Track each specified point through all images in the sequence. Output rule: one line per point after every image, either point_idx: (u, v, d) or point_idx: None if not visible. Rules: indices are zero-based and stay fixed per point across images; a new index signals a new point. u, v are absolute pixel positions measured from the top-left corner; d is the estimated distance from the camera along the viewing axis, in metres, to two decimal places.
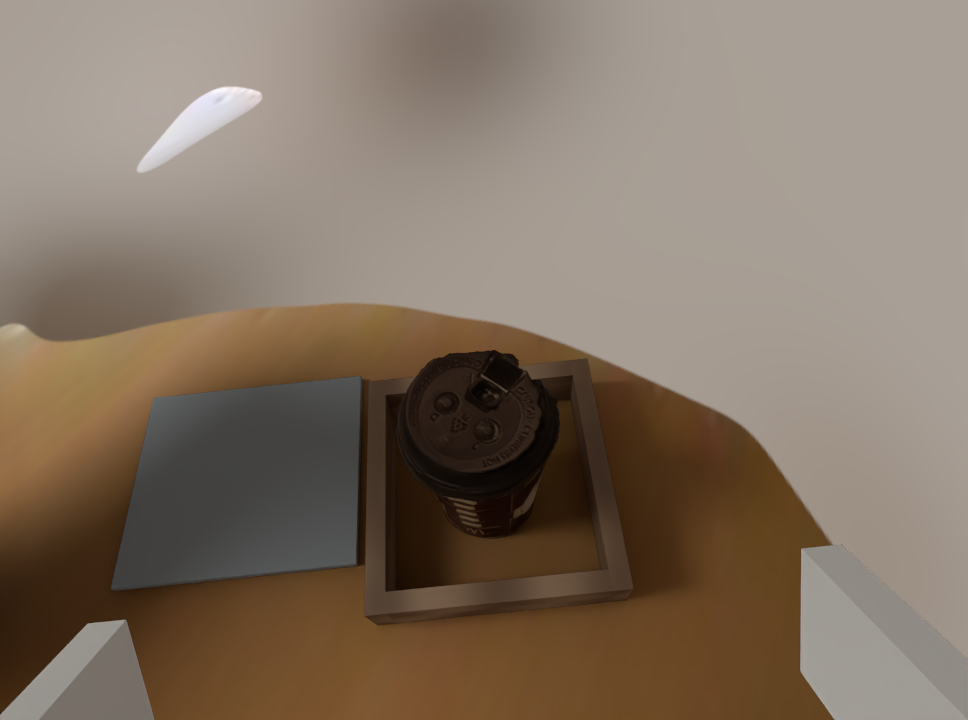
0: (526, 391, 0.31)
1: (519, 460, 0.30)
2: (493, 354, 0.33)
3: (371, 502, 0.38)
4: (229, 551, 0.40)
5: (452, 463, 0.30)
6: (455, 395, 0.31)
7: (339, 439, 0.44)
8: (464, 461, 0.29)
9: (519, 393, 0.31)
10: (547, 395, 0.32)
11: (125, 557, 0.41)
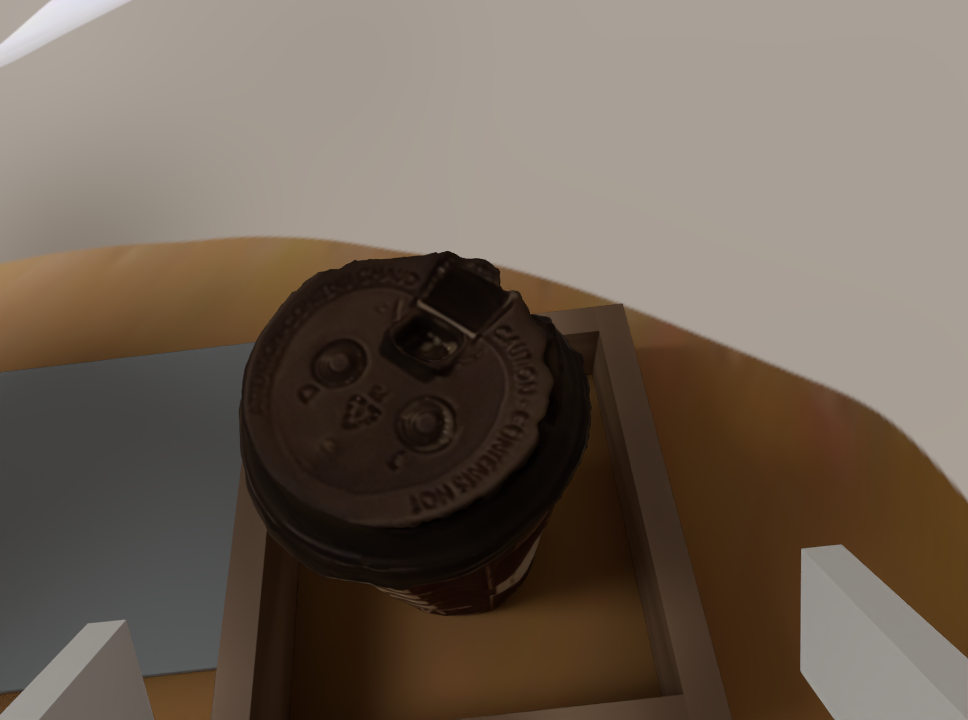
0: (517, 335, 0.14)
1: (501, 493, 0.13)
2: (447, 260, 0.15)
3: (239, 559, 0.21)
4: (0, 643, 0.23)
5: (337, 503, 0.12)
6: (360, 346, 0.14)
7: (212, 444, 0.27)
8: (367, 497, 0.12)
9: (502, 339, 0.14)
10: (563, 346, 0.15)
11: None
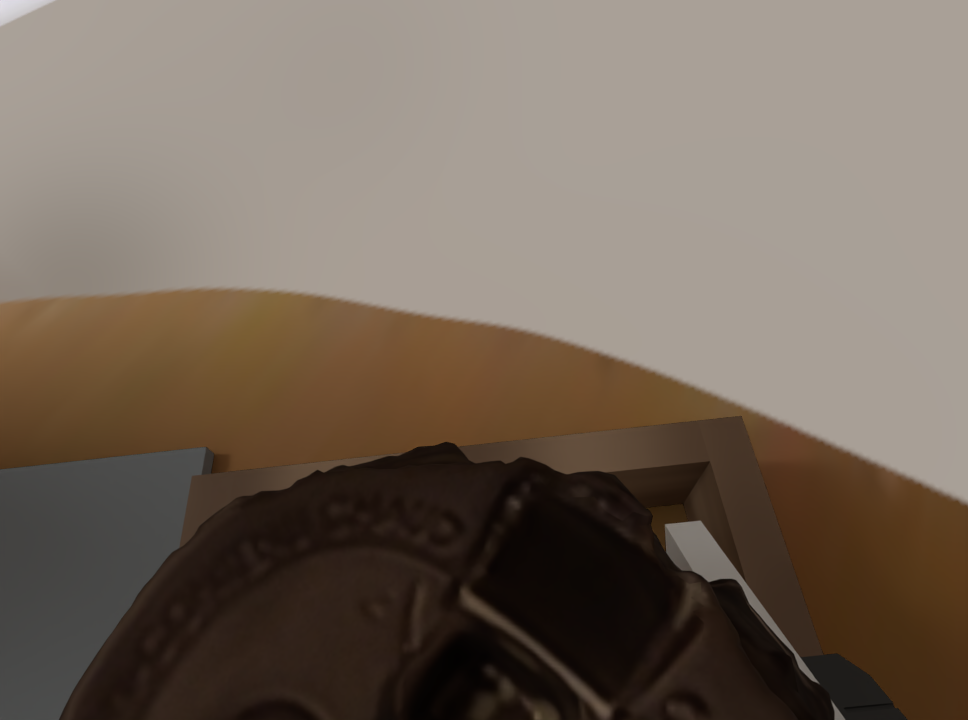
0: None
1: None
2: (524, 476, 0.07)
3: None
4: None
5: None
6: None
7: None
8: None
9: None
10: (800, 692, 0.06)
11: None
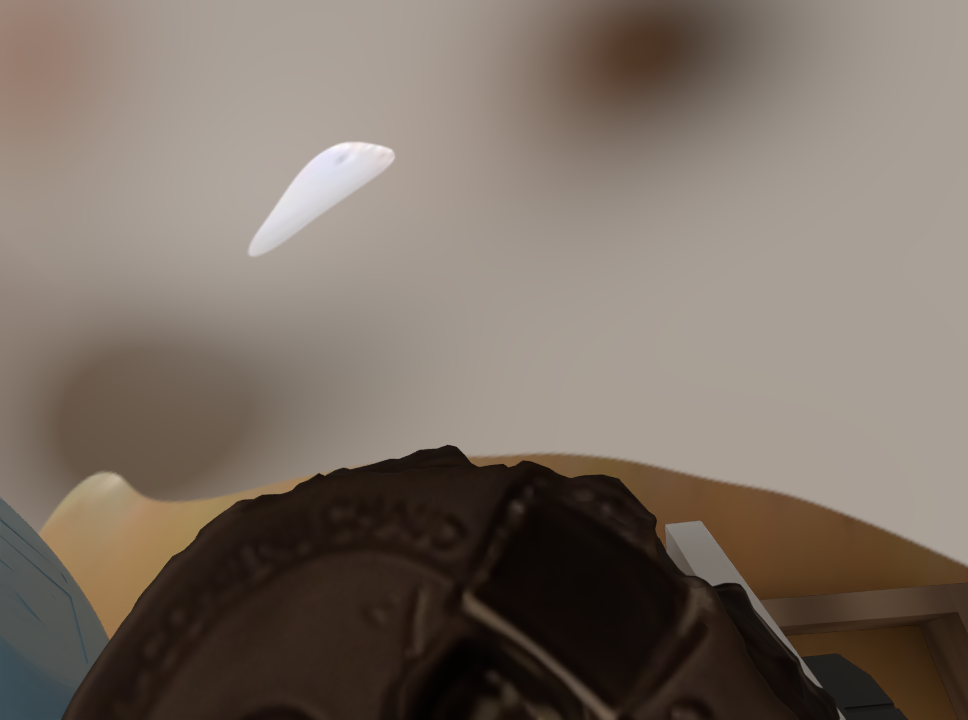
0: None
1: None
2: (528, 479, 0.07)
3: None
4: None
5: None
6: None
7: None
8: None
9: None
10: (805, 699, 0.06)
11: None
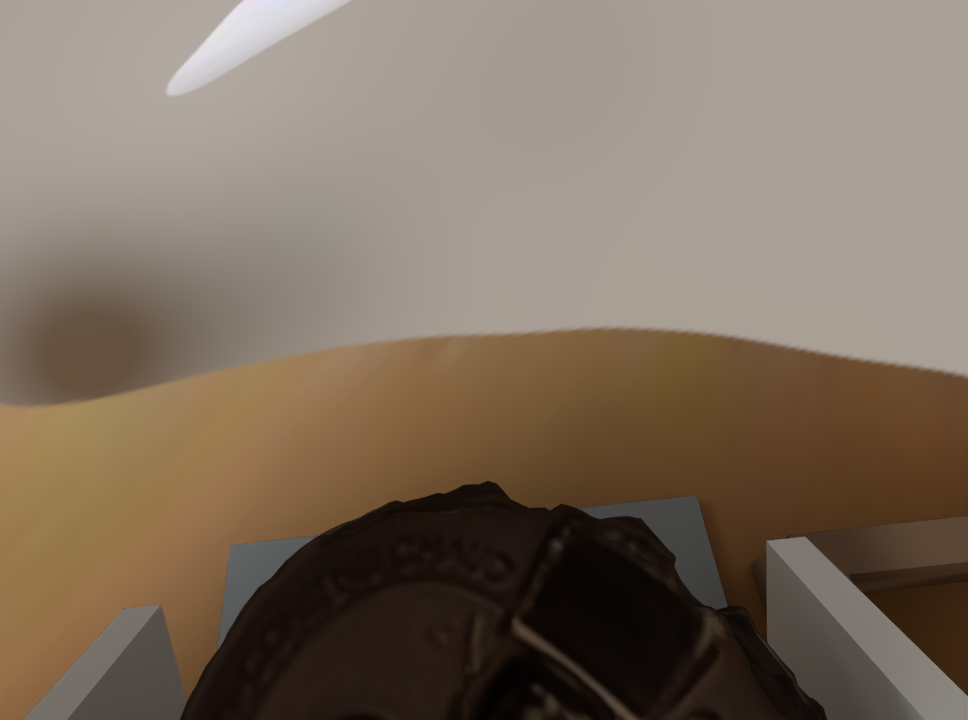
0: None
1: None
2: (565, 520, 0.08)
3: None
4: None
5: None
6: None
7: None
8: None
9: None
10: (799, 708, 0.07)
11: None
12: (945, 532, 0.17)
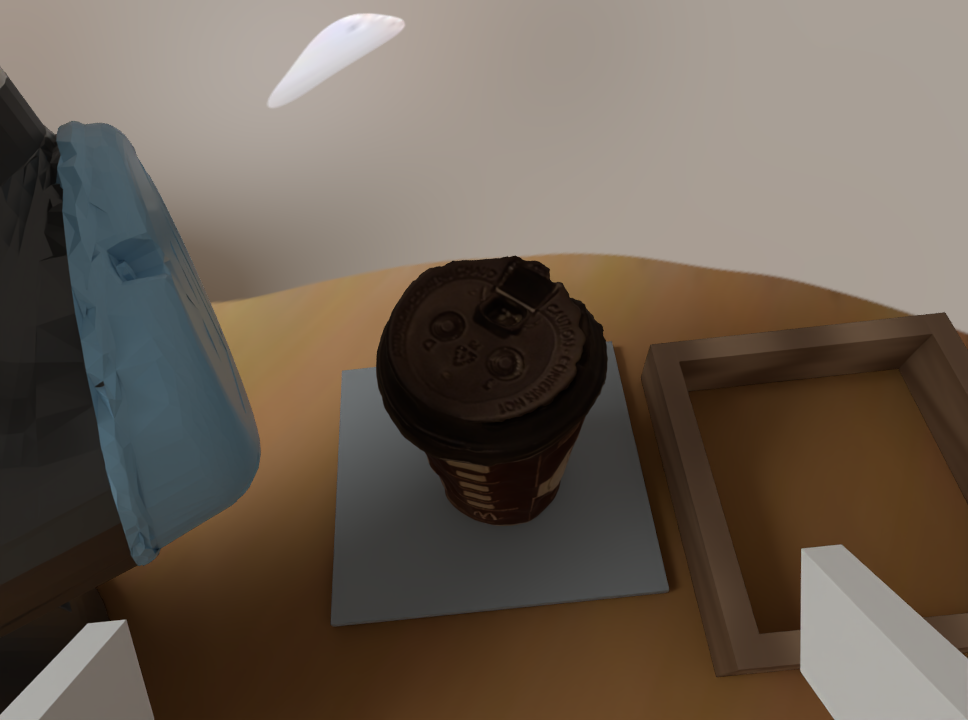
0: (562, 310, 0.22)
1: (552, 405, 0.20)
2: (514, 262, 0.23)
3: (701, 505, 0.28)
4: (486, 572, 0.30)
5: (453, 408, 0.20)
6: (460, 316, 0.22)
7: (603, 422, 0.33)
8: (472, 405, 0.20)
9: (552, 312, 0.22)
10: (590, 319, 0.23)
11: (342, 580, 0.30)
12: (732, 341, 0.32)
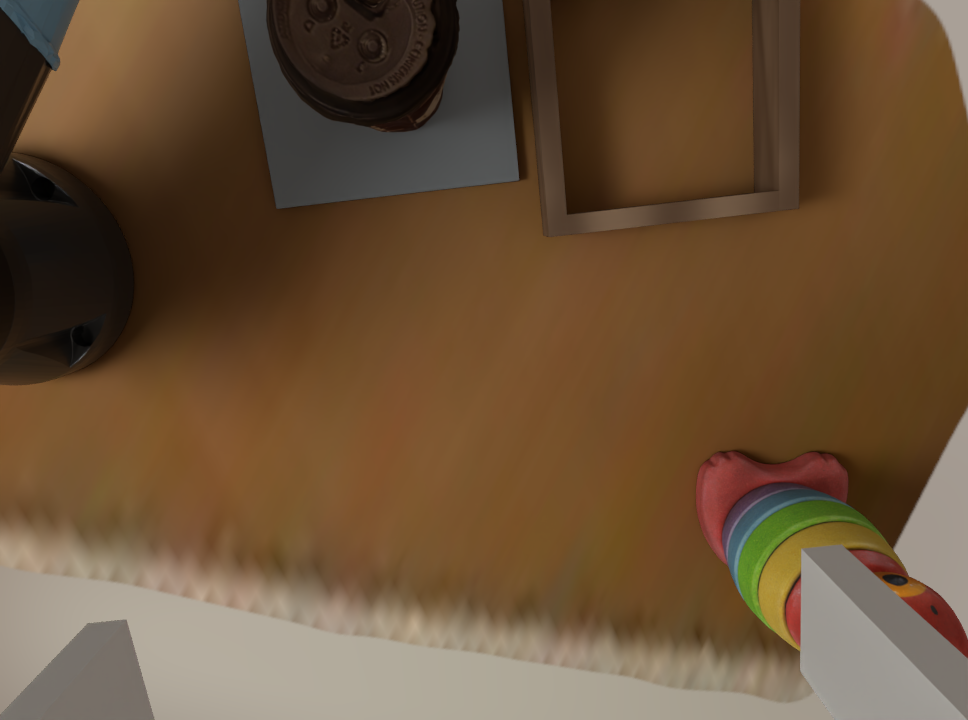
0: None
1: (411, 83, 0.27)
2: None
3: (544, 123, 0.36)
4: (387, 169, 0.40)
5: (335, 89, 0.27)
6: None
7: (482, 34, 0.38)
8: (349, 86, 0.27)
9: None
10: None
11: (278, 176, 0.40)
12: None
